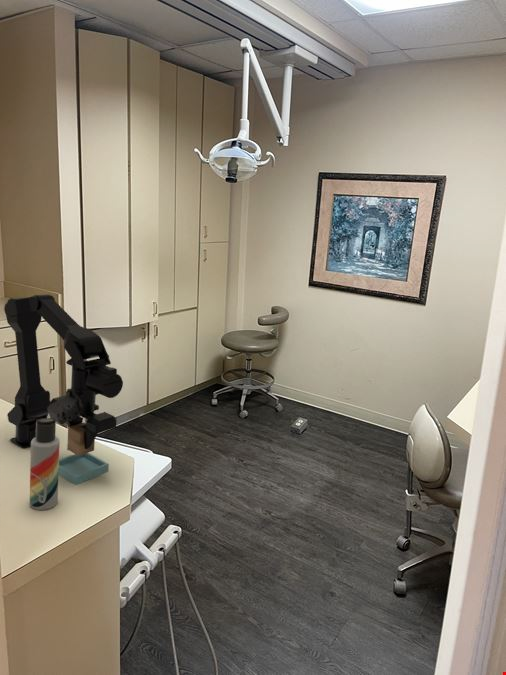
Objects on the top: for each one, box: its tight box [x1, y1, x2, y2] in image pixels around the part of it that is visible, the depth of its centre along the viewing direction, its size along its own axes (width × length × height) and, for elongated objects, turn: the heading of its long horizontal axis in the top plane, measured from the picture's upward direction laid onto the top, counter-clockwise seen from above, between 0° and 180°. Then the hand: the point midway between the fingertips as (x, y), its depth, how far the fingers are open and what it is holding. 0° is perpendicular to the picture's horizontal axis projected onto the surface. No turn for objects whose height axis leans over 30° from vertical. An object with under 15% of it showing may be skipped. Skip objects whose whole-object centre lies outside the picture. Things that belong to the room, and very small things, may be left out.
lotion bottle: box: [29, 417, 61, 511], centre depth 108 cm, size 6×6×20 cm
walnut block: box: [66, 421, 96, 456], centre depth 123 cm, size 4×4×6 cm
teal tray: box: [58, 452, 110, 486], centre depth 125 cm, size 10×10×2 cm
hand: (81, 445), depth 124 cm, fingers closed on walnut block, 4 cm apart
